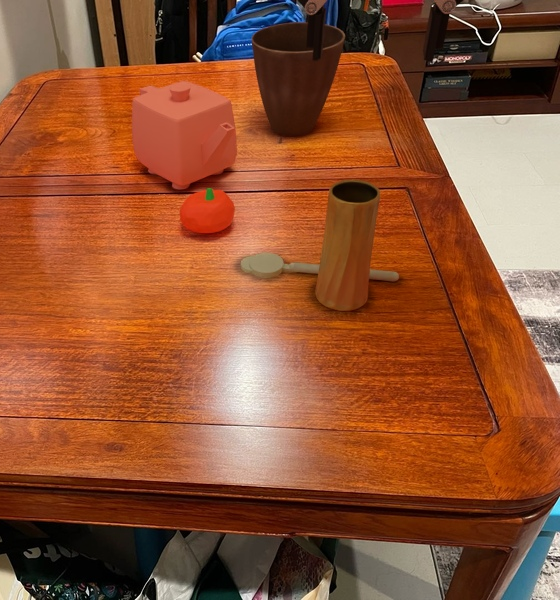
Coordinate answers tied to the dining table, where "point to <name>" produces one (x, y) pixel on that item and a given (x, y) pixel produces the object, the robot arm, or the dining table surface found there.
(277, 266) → the spoon
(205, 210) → the pumpkin
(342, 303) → the vase
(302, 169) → the dining table surface
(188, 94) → the teapot
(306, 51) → the flower pot
